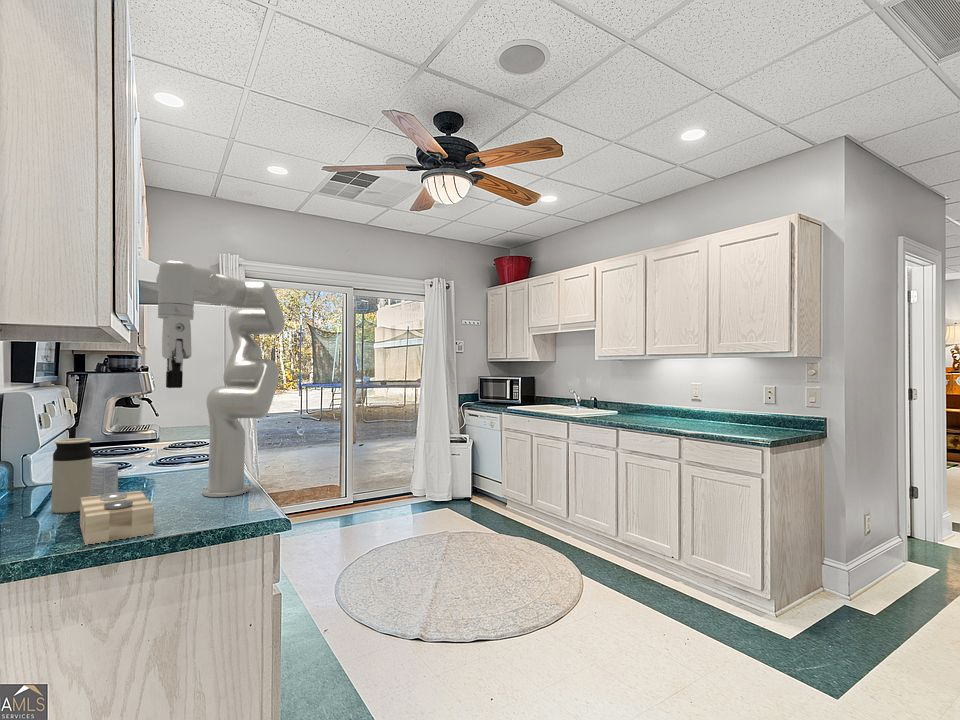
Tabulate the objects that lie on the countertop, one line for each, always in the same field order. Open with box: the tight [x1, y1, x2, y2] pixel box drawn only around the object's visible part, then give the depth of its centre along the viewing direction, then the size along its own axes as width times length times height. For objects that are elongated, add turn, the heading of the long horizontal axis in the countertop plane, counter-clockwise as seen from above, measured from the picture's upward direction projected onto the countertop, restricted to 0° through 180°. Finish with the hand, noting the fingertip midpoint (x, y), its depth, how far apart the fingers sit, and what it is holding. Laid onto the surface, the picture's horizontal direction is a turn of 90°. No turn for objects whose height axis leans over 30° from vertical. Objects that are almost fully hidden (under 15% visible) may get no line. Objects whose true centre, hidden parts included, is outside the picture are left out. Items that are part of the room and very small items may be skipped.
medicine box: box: [91, 462, 119, 496], centre depth 149 cm, size 8×4×9 cm, turn 77°
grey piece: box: [104, 500, 133, 510], centre depth 114 cm, size 5×5×7 cm
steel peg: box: [100, 491, 127, 501], centre depth 122 cm, size 5×5×6 cm
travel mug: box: [50, 437, 93, 514], centre depth 133 cm, size 8×8×18 cm
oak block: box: [79, 490, 155, 546], centre depth 118 cm, size 20×12×6 cm, turn 40°
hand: (174, 387), depth 125 cm, fingers closed
